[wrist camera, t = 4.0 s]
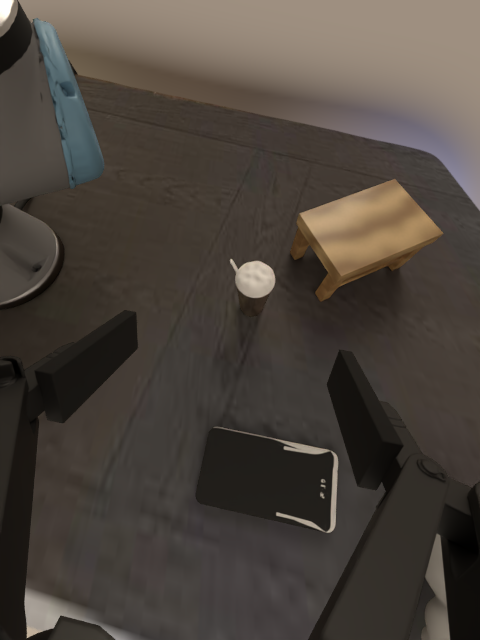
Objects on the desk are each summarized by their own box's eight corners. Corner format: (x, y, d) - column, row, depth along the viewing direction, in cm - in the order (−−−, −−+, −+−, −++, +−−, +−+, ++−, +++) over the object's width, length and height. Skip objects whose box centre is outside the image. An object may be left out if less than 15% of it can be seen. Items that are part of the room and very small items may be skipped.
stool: (287, 251, 39) (299, 213, 31) (366, 221, 41) (394, 178, 33) (319, 304, 36) (341, 276, 28) (402, 268, 38) (443, 233, 30)
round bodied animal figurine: (369, 610, 24) (434, 710, 16) (402, 486, 28) (469, 517, 20) (442, 659, 23) (551, 791, 15) (467, 522, 27) (565, 571, 19)
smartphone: (210, 426, 29) (338, 452, 28) (211, 425, 30) (334, 450, 29) (193, 502, 26) (334, 534, 25) (195, 497, 27) (330, 528, 26)
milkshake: (238, 286, 36) (239, 243, 27) (271, 300, 36) (284, 261, 26) (225, 311, 35) (220, 275, 26) (259, 326, 34) (267, 295, 25)
